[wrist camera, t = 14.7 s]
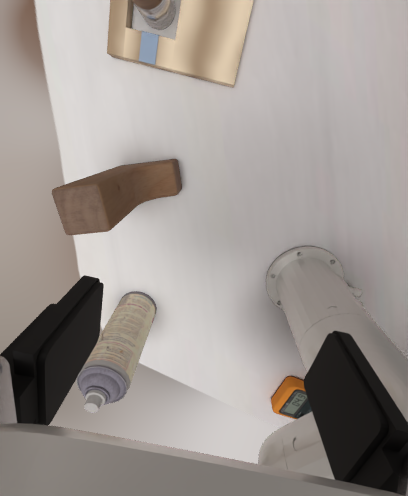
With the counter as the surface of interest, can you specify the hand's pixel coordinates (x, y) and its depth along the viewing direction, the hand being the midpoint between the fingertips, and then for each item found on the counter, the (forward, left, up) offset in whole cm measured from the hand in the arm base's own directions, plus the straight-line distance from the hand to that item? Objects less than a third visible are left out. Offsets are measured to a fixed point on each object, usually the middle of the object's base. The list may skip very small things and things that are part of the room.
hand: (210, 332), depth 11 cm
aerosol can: (+9, +25, -32) cm, 42 cm away
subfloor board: (+9, -19, -32) cm, 39 cm away
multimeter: (-31, +39, -33) cm, 60 cm away
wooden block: (+10, +1, -32) cm, 34 cm away
